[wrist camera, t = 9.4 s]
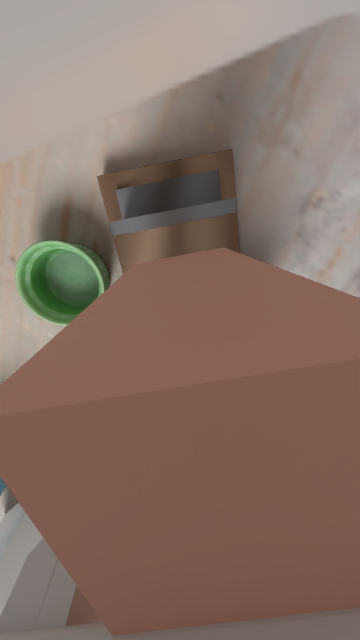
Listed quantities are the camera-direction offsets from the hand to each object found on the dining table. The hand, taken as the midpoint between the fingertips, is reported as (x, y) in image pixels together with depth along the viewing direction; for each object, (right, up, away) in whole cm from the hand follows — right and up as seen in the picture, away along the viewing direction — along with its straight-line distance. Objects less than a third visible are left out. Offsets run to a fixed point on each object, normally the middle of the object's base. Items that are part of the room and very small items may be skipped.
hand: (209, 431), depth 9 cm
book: (0, +2, +4) cm, 4 cm away
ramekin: (-14, +9, +19) cm, 25 cm away
